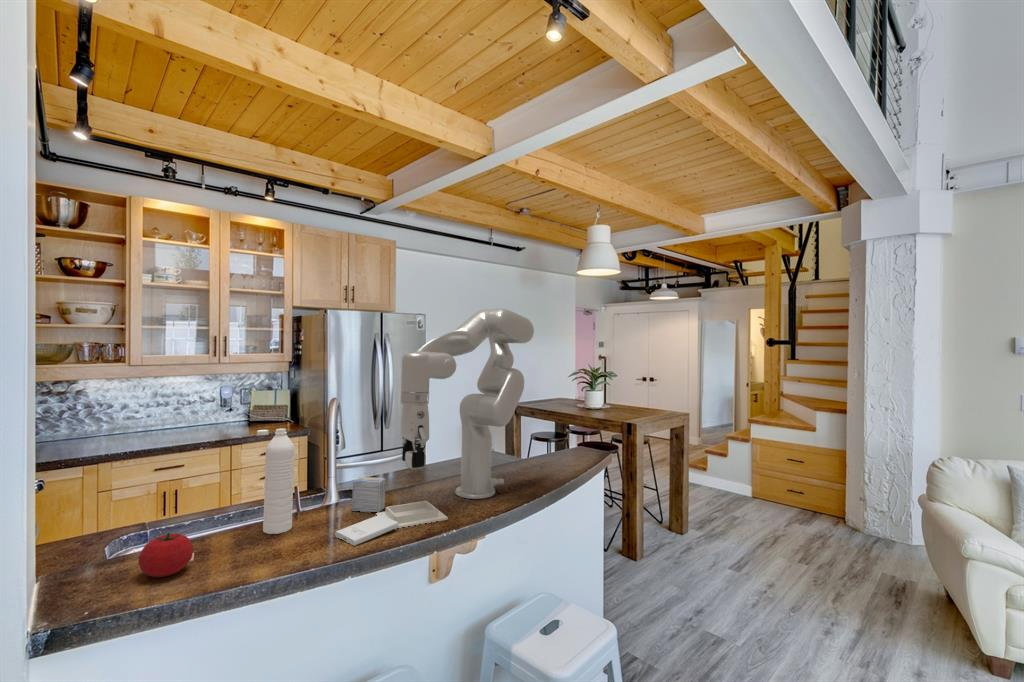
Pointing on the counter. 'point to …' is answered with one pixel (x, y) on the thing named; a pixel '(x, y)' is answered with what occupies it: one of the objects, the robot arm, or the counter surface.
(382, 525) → the external hard drive
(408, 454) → the usb wall charger
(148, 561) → the tomato
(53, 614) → the counter surface
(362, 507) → the medicine box
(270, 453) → the water bottle
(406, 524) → the outlet plate
